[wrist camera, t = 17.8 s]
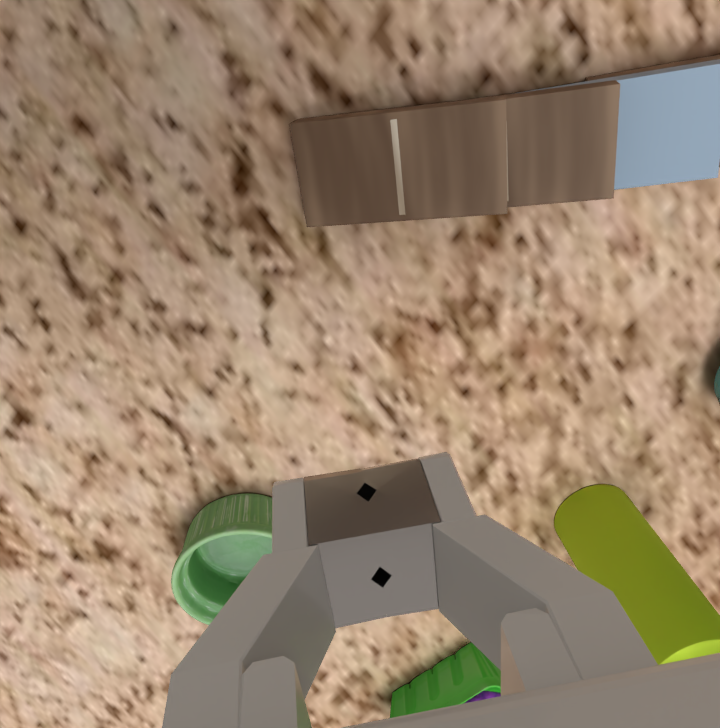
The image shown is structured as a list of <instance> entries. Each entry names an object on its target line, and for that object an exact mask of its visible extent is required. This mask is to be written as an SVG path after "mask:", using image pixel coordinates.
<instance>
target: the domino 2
mask: <svg viewBox="0 0 720 728" xmlns="http://www.w3.org/2000/svg"><path fill="white" fill-rule="evenodd" d="M498 96H504V95H498ZM491 97H496V96H491ZM483 98H487V97H483ZM619 98H620V83H618V82H617V81H616V80H612V81H604V82H597V83H589V84H581V85H574V86H566V87H559V88H551V89H544V90H536V91H529V92H521V93H514V94H506V127H507V207H516V206H528V205H540V204H552V203H564V202H576V201H588V200H600V199H611V198H614V183H615V166H616V149H617V132H618V115H619ZM476 99H478V98H476ZM468 100H469V99H468Z"/></svg>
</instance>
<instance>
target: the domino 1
mask: <svg viewBox="0 0 720 728" xmlns="http://www.w3.org/2000/svg"><path fill="white" fill-rule="evenodd" d="M289 127H290V132H291V138H292V144H293V150H294V155H295V161H296V167H297V173H298V178H299V184H300V190H301V196H302V201H303V207H304V213H305V218H306V224H307V227H317V226H332V225H347V224H361V223H376V222H391V221H406V220H421V219H436V218H451V217H465V216H480V215H495V214H507V127H506V95H504V96H496V97H487V98H478V99H469V100H460V101H452V102H443V103H434V104H425V105H417V106H408V107H399V108H390V109H381V110H373V111H364V112H355V113H346V114H338V115H329V116H320V117H311V118H302V119H298V120H296V121H294V122H292V123H290V124H289Z"/></svg>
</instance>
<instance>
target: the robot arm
mask: <svg viewBox="0 0 720 728" xmlns="http://www.w3.org/2000/svg"><path fill="white" fill-rule="evenodd" d="M433 609H439V611H440V612H441V613H442V614H443V615H444V616H445V617H446V618H447V619H448V620H449V621H450V622H451V623H452V624H453V625H454V626H455V627H456V628H457V629H458V630H459V631H460V632H461V633H462V634H463V635H464V636H465V637H467V638H468V639H469V640H470V641H471V642H472V643H473V644H474V645H475V646H476V647H477V648H478V649H479V650H480V651H481V652H482V653H483V654H484V655H485V656H486V657H487V658H488V659H489V660H490V661H491V662H492V663H493V664H494V665H495V666H496V667H498V668H499V669H500V670H501V696H499V697H494V698H489V699H484V700H479V701H474V702H469V703H464V704H459V705H454V706H449V707H444V708H439V709H434V710H429V711H424V712H419V713H414V714H408V715H403V716H398V717H393V718H388V719H383V720H378V721H373V722H368V723H363V724H358V725H353V726H348V727H343V728H720V653H716V654H711V655H705V656H700V657H695V658H690V659H685V660H680V661H675V662H670V663H665V664H660V665H658V664H657V662H656V661H655V659H654V657H653V656H652V654H651V652H650V651H649V649H648V648H647V646H646V644H645V643H644V641H643V640H642V638H641V636H640V635H639V633H638V631H637V630H636V628H635V627H634V625H633V623H632V622H631V620H630V619H629V617H628V615H627V614H626V612H625V610H624V609H623V607H622V606H621V604H620V602H619V601H618V599H617V598H616V596H615V594H614V593H613V591H611V590H609V589H608V588H606V587H604V586H603V585H601V584H600V583H598V582H596V581H595V580H593V579H591V578H590V577H588V576H586V575H585V574H583V573H581V572H580V571H578V570H576V569H575V568H573V567H571V566H570V565H568V564H566V563H565V562H563V561H561V560H560V559H558V558H556V557H555V556H553V555H551V554H550V553H548V552H546V551H545V550H543V549H541V548H540V547H538V546H536V545H535V544H533V543H532V542H530V541H528V540H527V539H525V538H523V537H522V536H520V535H518V534H517V533H515V532H513V531H512V530H510V529H508V528H507V527H505V526H503V525H502V524H500V523H498V522H497V521H495V520H493V519H492V518H490V517H488V516H487V515H481V516H476V513H475V511H474V509H473V506H472V504H471V502H470V500H469V497H468V495H467V493H466V490H465V488H464V486H463V484H462V481H461V479H460V477H459V474H458V472H457V470H456V467H455V465H454V463H453V461H452V458H451V456H450V454H448V453H447V452H444V453H439V454H434V455H429V456H424V457H419V458H418V459H412V460H407V461H401V462H396V463H390V464H385V465H379V466H374V467H368V468H361V469H354V470H348V471H341V472H334V473H328V474H321V475H315V476H308V477H304V478H297V479H291V480H285V481H279V482H274V485H273V488H272V553H270V554H265V555H263V556H262V557H261V558H260V560H259V561H258V562H257V563H256V565H255V566H254V567H253V569H252V570H251V571H250V573H249V574H248V575H247V576H246V578H245V579H244V580H243V582H242V583H241V584H240V586H239V587H238V588H237V590H236V591H235V592H234V593H233V595H232V596H231V597H230V599H229V600H228V601H227V603H226V604H225V605H224V606H223V608H222V609H221V610H220V612H219V613H218V614H217V616H216V617H215V618H214V619H213V621H212V622H211V623H210V625H209V626H208V627H207V629H206V630H205V631H204V632H203V634H202V635H201V636H200V638H199V639H198V640H197V642H196V643H195V644H194V645H193V647H192V648H191V649H190V651H189V652H188V653H187V655H186V656H185V657H184V658H183V660H182V661H181V662H180V664H179V665H178V666H177V668H176V669H175V670H174V671H173V673H172V674H171V679H170V685H169V690H168V696H167V702H166V708H165V714H164V720H163V726H162V728H312V727H311V723H310V719H309V716H308V712H307V708H306V704H305V701H304V700H305V698H306V695H307V693H308V691H309V689H310V687H311V685H312V682H313V680H314V678H315V676H316V674H317V671H318V669H319V667H320V665H321V663H322V660H323V658H324V656H325V654H326V652H327V650H328V647H329V645H330V643H331V641H332V639H333V636H334V634H335V632H336V630H335V628H339V627H343V626H348V625H352V624H357V623H361V622H366V621H371V620H375V619H380V618H384V617H390V616H396V615H402V614H409V613H415V612H421V611H427V610H433Z"/></svg>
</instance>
